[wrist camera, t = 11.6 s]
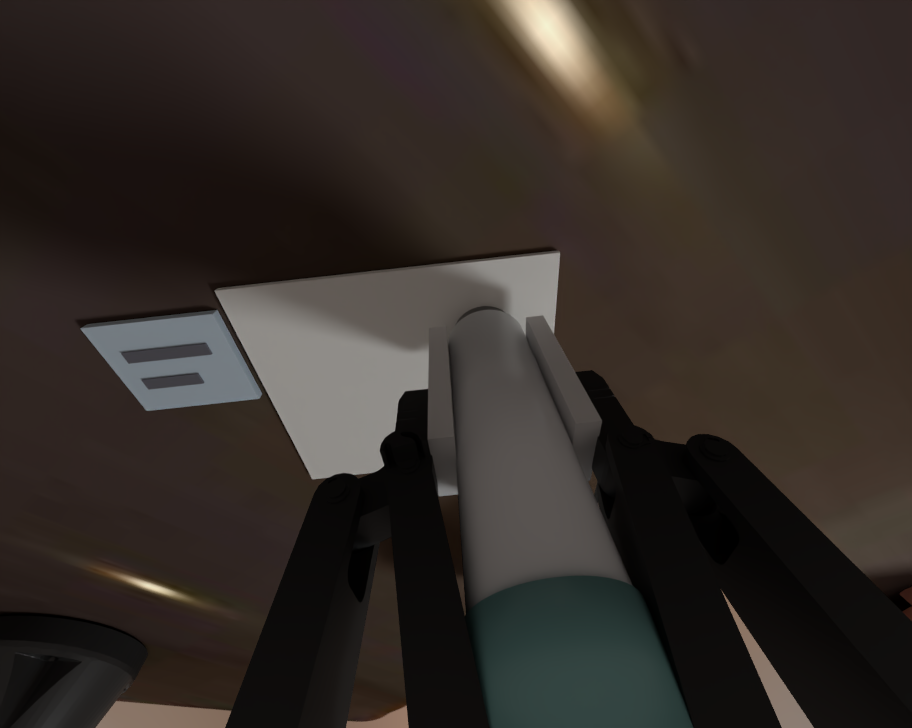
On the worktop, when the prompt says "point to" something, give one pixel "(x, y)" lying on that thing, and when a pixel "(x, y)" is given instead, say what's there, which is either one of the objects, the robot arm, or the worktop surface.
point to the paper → (369, 343)
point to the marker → (543, 555)
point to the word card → (175, 359)
